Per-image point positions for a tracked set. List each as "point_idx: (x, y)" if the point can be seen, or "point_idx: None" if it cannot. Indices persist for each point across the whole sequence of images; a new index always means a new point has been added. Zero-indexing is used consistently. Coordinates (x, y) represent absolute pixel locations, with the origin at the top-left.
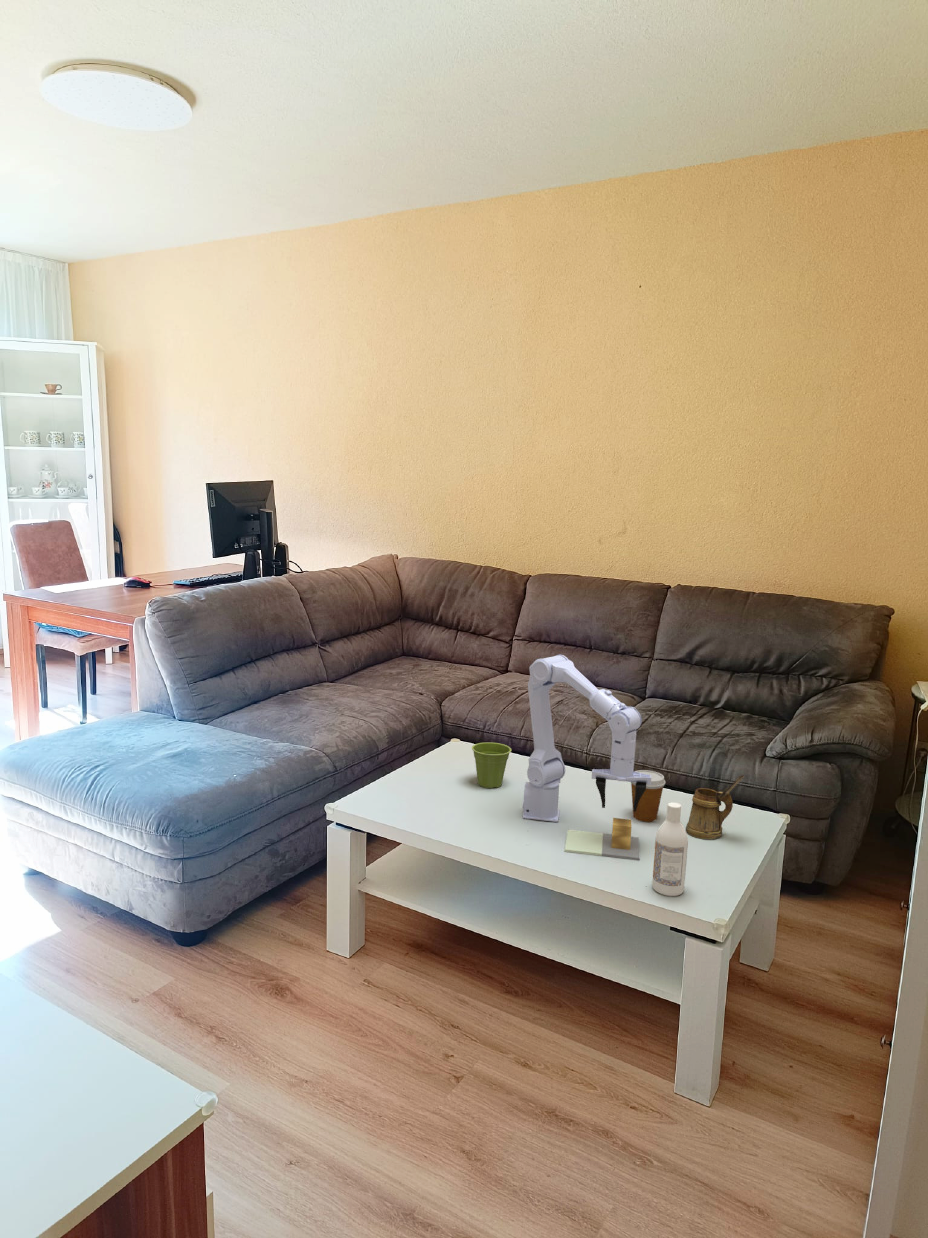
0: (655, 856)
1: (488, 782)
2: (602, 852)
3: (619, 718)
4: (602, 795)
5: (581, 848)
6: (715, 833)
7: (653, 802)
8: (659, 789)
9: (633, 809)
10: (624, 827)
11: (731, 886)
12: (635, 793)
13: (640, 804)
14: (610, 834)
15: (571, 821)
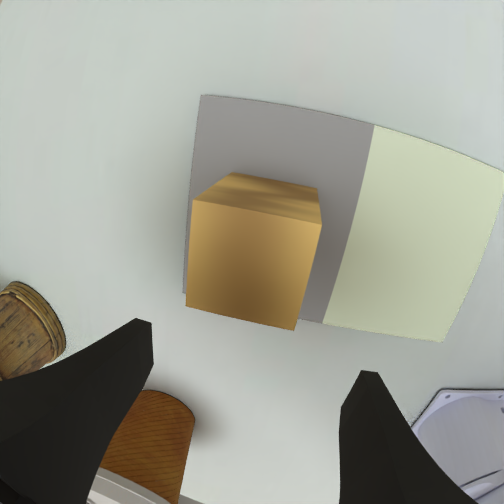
0: None
1: None
2: (369, 136)
3: None
4: (408, 450)
5: (450, 180)
6: (1, 292)
7: (117, 432)
8: None
9: (143, 327)
10: (241, 204)
11: (3, 23)
12: (63, 422)
13: (159, 438)
14: None
15: (394, 400)
